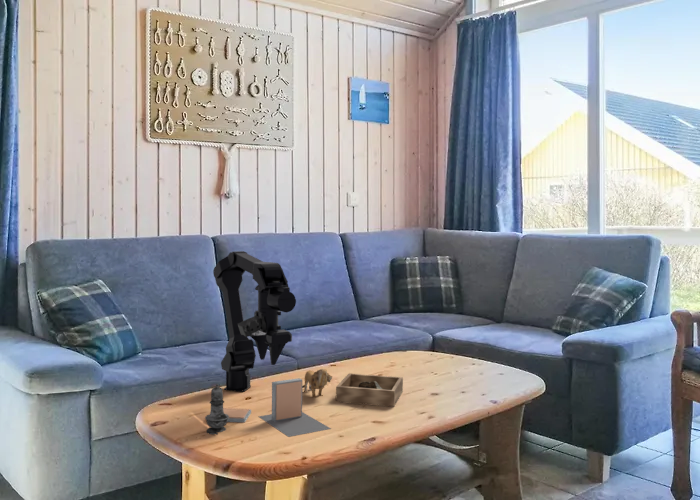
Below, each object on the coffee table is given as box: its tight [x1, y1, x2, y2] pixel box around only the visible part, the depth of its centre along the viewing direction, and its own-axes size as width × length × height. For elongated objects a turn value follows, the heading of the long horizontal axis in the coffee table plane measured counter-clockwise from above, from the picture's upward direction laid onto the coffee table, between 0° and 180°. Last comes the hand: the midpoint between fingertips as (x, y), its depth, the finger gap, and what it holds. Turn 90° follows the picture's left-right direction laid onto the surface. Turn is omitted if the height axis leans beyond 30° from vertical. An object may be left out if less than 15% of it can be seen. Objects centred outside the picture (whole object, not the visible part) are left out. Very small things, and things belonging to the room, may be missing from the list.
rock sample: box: [359, 381, 382, 389], centre depth 198 cm, size 10×8×9 cm
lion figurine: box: [302, 368, 333, 399], centre depth 199 cm, size 15×5×9 cm, turn 34°
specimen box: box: [335, 372, 404, 408], centre depth 198 cm, size 17×16×4 cm
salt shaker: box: [204, 383, 229, 435], centre depth 166 cm, size 6×6×12 cm
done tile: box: [223, 407, 252, 423], centre depth 176 cm, size 10×8×2 cm
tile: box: [271, 377, 303, 421], centre depth 175 cm, size 2×8×10 cm, turn 122°
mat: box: [258, 411, 332, 438], centre depth 172 cm, size 18×12×1 cm, turn 32°
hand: (267, 362), depth 189 cm, fingers open, 7 cm apart
